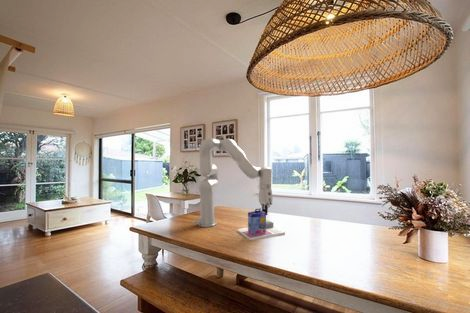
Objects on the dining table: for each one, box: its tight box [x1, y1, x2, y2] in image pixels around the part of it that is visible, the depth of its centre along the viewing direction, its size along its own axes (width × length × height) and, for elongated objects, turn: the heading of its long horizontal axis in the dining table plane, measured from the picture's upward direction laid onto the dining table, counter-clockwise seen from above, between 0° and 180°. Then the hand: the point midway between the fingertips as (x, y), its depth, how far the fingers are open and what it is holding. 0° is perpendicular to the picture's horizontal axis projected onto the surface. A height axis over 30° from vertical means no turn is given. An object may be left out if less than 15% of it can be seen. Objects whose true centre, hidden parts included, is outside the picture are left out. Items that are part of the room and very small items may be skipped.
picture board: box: [236, 220, 286, 241], centre depth 134 cm, size 23×18×4 cm
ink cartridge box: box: [247, 207, 267, 235], centre depth 130 cm, size 10×6×14 cm, turn 115°
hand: (264, 214), depth 142 cm, fingers closed
